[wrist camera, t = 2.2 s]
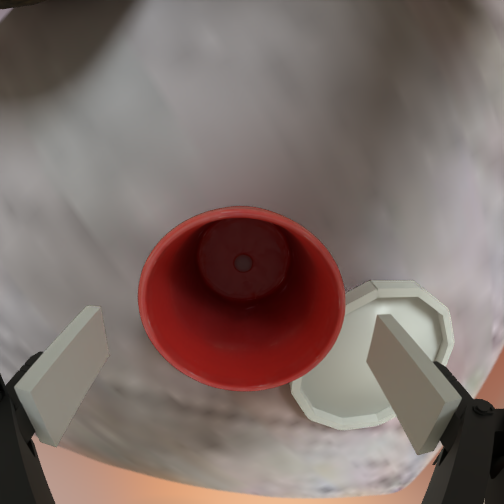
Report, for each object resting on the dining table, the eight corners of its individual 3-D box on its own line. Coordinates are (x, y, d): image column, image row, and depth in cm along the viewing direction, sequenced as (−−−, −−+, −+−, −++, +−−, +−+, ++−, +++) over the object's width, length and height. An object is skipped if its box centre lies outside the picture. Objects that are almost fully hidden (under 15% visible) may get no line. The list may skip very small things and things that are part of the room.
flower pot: (242, 340, 27) (242, 420, 18) (148, 253, 25) (100, 305, 16) (337, 261, 25) (383, 316, 16) (244, 158, 23) (244, 158, 14)
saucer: (300, 279, 26) (304, 288, 24) (461, 280, 26) (471, 286, 25) (282, 422, 30) (284, 434, 29) (417, 407, 31) (423, 417, 29)
